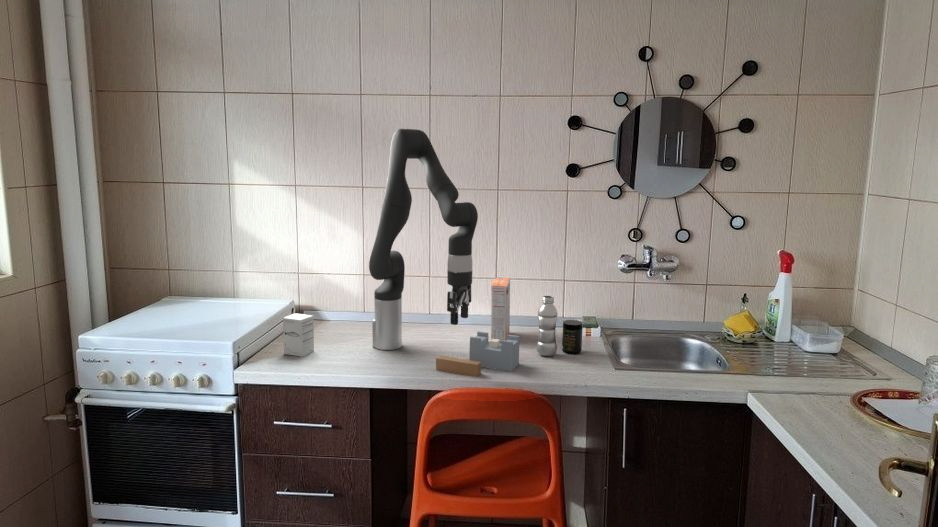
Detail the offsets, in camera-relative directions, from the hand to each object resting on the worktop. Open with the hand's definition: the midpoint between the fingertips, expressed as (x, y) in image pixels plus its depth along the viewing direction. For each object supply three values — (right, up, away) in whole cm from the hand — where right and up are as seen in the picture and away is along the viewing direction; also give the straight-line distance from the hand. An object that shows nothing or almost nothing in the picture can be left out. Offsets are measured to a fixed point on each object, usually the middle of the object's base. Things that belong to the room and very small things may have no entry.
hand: (459, 321), depth 210 cm
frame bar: (0, -16, +3) cm, 16 cm away
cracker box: (+14, -10, +40) cm, 44 cm away
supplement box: (-54, -12, +19) cm, 58 cm away
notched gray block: (+11, -15, +10) cm, 21 cm away
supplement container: (+38, -13, +24) cm, 47 cm away
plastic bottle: (+29, -13, +20) cm, 38 cm away
